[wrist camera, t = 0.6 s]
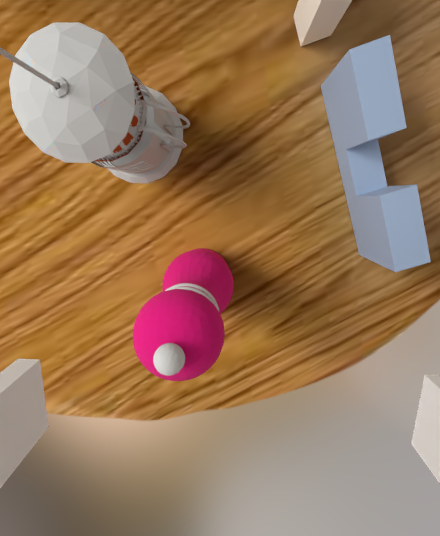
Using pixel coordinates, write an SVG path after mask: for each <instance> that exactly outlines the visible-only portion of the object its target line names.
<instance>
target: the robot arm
mask: <svg viewBox="0 0 440 536" xmlns="http://www.w3.org/2000/svg"><path fill="white" fill-rule="evenodd" d="M47 428H48V420H47V411H46V404H45V396H44V389H43V381H42V373H41V366H40V360H38V359H17V360H16V361H15V362H13V363H12V364H11V365H10V366H8V367H7V368H6V369H4V370H3V371H2V372H0V488H1V487H2V485H3V484H4V483H5V482H6V480H7V479H8V478H9V476H10V475H11V474H12V473H13V471H14V470H15V469H16V467H17V466H18V465H19V464H20V463H21V461H22V460H23V459H24V457H25V456H26V455H27V453H28V452H29V451H30V450H31V448H32V447H33V446H34V445H35V443H36V442H37V441H38V440H39V438H40V437H41V436H42V435H43V433H44V432H45V431H46V430H47ZM411 444H412V445H413V447H414V448H415V450H416V451H417V452H418V454H419V455H420V457H421V458H422V460H423V461H424V462H425V464H426V465H427V466H428V468H429V469H430V471H431V472H432V474H433V475H434V476H435V478H436V479H437V480H438V482H439V483H440V375H428V374H425V376H424V381H423V386H422V391H421V396H420V402H419V407H418V412H417V417H416V422H415V427H414V432H413V437H412V443H411Z"/></svg>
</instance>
